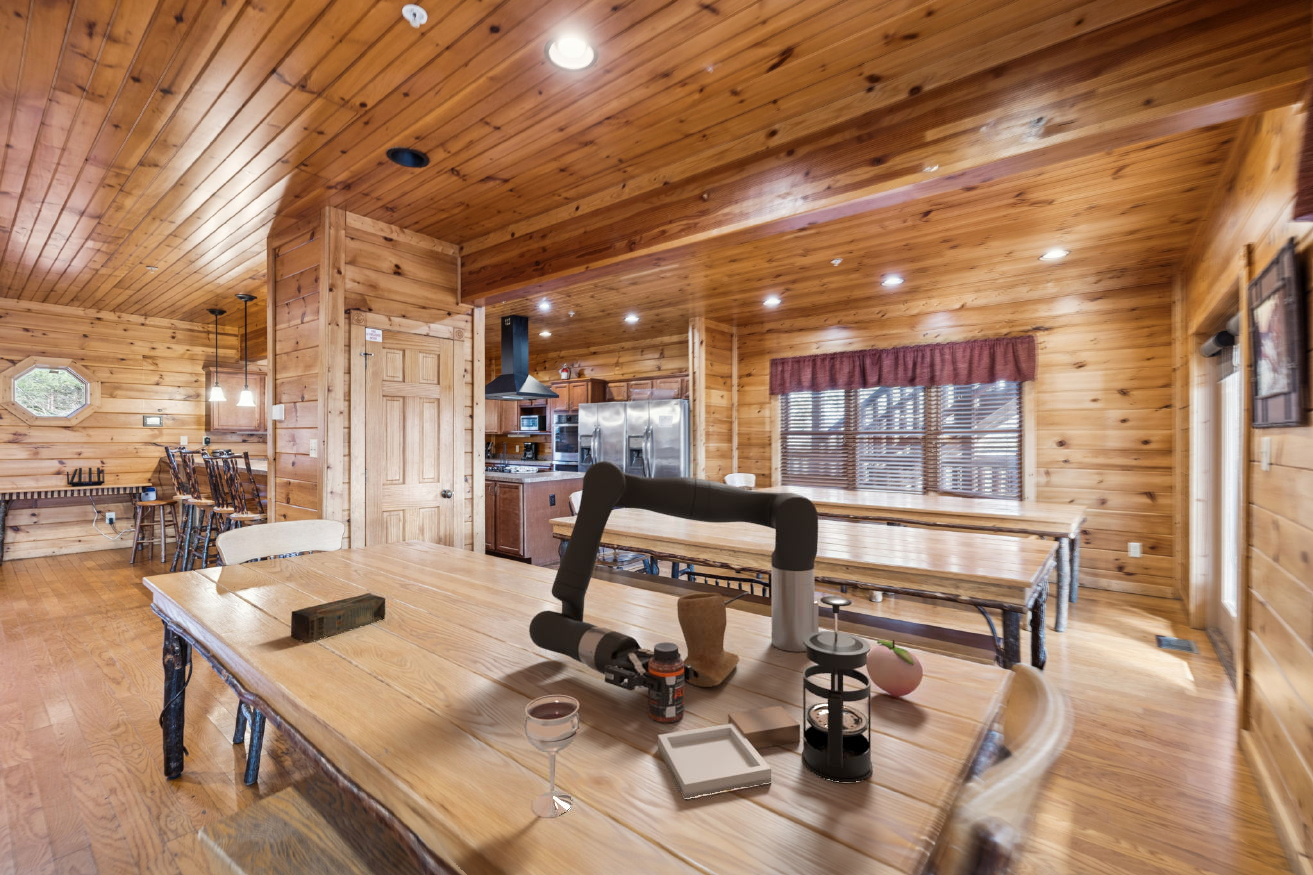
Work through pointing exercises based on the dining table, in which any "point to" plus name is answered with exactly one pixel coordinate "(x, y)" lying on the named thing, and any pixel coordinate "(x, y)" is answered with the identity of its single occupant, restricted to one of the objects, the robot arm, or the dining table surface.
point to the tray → (712, 760)
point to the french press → (836, 704)
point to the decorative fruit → (894, 669)
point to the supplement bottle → (667, 684)
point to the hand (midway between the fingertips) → (677, 679)
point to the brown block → (766, 726)
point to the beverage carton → (336, 617)
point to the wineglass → (552, 743)
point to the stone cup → (705, 638)
